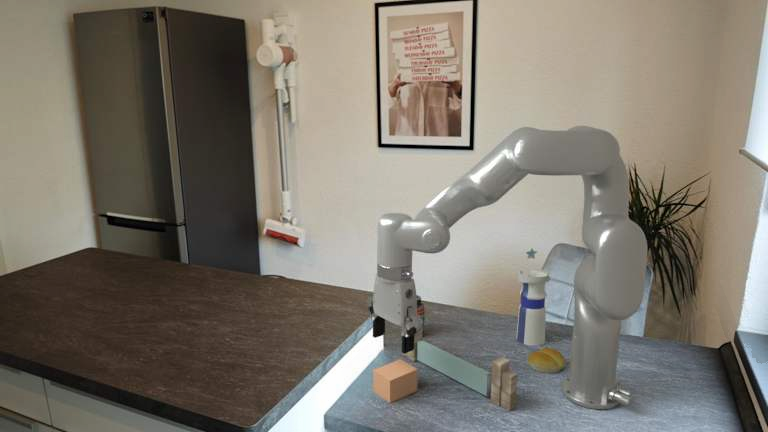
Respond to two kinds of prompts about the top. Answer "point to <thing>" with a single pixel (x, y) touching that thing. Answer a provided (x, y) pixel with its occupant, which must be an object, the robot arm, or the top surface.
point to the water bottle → (532, 306)
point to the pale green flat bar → (455, 367)
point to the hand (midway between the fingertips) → (392, 343)
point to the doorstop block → (395, 380)
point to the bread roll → (546, 360)
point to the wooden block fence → (501, 377)
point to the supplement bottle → (420, 311)
